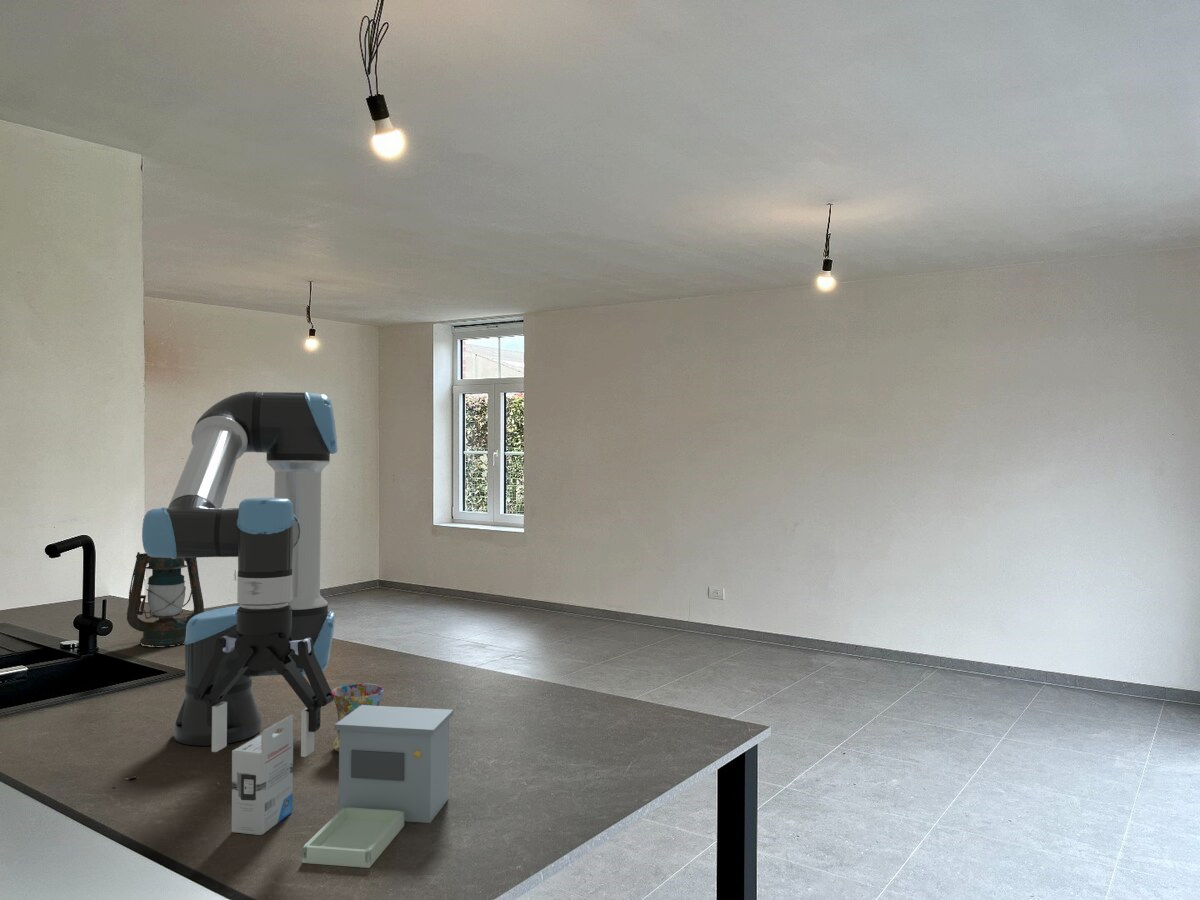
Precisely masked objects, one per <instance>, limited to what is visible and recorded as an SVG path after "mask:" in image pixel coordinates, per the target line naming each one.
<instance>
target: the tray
mask: <svg viewBox="0 0 1200 900" xmlns="http://www.w3.org/2000/svg"><path fill="white" fill-rule="evenodd" d="M404 827H405V821H404V811H396V810H382V809H367V808H352V807H343V808H342V809H341V810H340V811H339V810H338V811H337V813H336V814H335V815H334V816H333V817H332V818H331V819H329V820H328V822H326V824H324V825H323V826H322V827H321V828H320V829H319V830H318V831H317V832H316V833H315V834H314V835H313V836H312V837H311V838H310V839H309V840H308V841H307V842H306V843H305V844H304V845H303V846H302V848H301V850H302V853H301V855H302V857H301V858H302V859H301V860H302V862H301V863H302V864H312V865H313V864H314V865H324V866H325V865H328V866H336V867H338V866H339V867H340V866H341V867H350V868H352V867H354V868H367V869H370V868H371V866H372V865H373V864H374V863H375V862H376V860H378V858H379V857H380V856H381V855H382V853H383V852H384V851H385V850H386V848H387V847H388V846H389V845H390V844H391V842H392V841H393V840H394V838H395V837H396V836H397V835H398V834H399V833H400V832H401V830H402V829H403V828H404Z"/></svg>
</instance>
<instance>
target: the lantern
mask: <svg viewBox="0 0 1200 900" xmlns="http://www.w3.org/2000/svg"><path fill="white" fill-rule="evenodd" d="M135 558H136V560H135V564H134V568H133V570H132V571H133V572H132V576H131V581H130V586H129V592H128V606H127V610H126V621H127V622H128V625H129V626H130V627H131V628H132V629H134V630H136V631H139V632H142V634H143V635H142V637H141V638H140V641H139V644H140V643H142V644H144V645H151V646H152V645H153V646H170V645H178V644H183V643H184V641H185V639H186V626H187V623H188V621H189V620H190V619H191V618H192V617H193V616H195V615H198V614H200V613H203V612H205V607H204V606H205V605H204V599H203V593H202V587H201V583H200V576H199V568H198V561H197V558H176V559H172V558H160V557H150V556H148V555H147V554H146V552H144V553H140V551H137V554H136V556H135ZM185 562H186V565H185ZM147 565H148V566H147ZM183 568H187V573H188V579H189V584H190V585H189V587H190V593H189V597H188V600H187V601H186V603H185V598H186V589H187V586H185V585H186V584H185V583H186V580H185V575H183V574H182V569H183ZM146 570H151V572H152V575H150V576H149V577H148V579H147V580H148V581H147V585H148V588H146V591H147V595H144V594H143V595H142V592H143V586H144V580H145V575H146ZM191 597H192V604H193V612H189V613H184V612H183V611H184V610H183V608H184V607H185V606H186V605H187V604H188V603H189V602H190V601H191ZM146 598H147V605H148V607H149V611H146V610H145V604H146V603H145V602H146ZM143 614H144V617H145V619H147V620H148V619H149V620H150V619H151V618H156V619H157V620H155V621H152V622H151V621H149V622H148V621H144V620H142V619H140V618H139V617H138V615H139V616H143ZM147 614H149V616H148V617H147ZM179 616H183V617H181V618H177V617H179Z"/></svg>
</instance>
